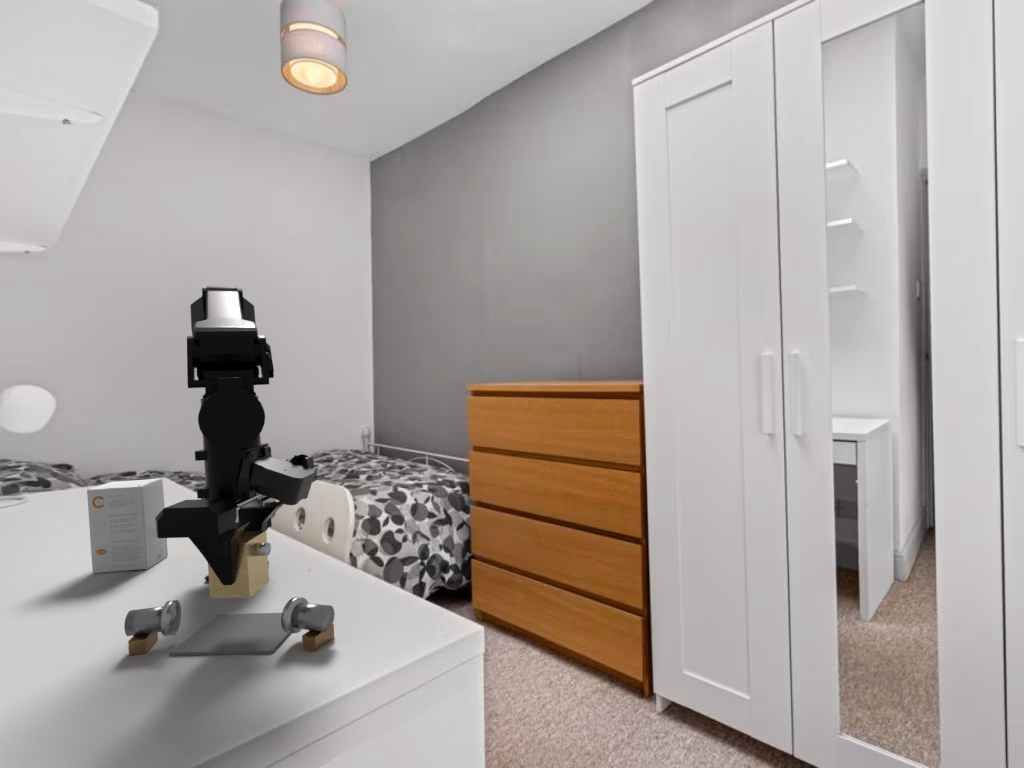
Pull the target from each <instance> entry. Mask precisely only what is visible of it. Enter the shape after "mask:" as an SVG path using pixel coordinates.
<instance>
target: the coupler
mask: <svg viewBox="0 0 1024 768" xmlns="http://www.w3.org/2000/svg"><path fill="white" fill-rule="evenodd" d="M267 540H268V539H267V530H265V531H242V532H241V533H240V535H239V536H238V538H237V556H236V572H235V580H234V583H233V584H232V585H223V584H222V583H221V581H220V580H219V579H218V577H217V576H216V574H215V573H214V571H213V570H212V568H211V567H210V565H209V564H208V563H207V570H208V575H209V581H208V584H209V585H208V587H209V589H208V590H209V599H237V598H239V599H240V598H241V599H242V598H251V597H252V596H253V595H255V594H256V593H257V592H258V591H259V590H261V589H262V588H263V587H264V586H266V585H267V584H268V583H269V582H270V574H269V573H270V572H269V565H268V561H269V555H270V553H271V550H272V545H271V543H270V542H268V541H267Z"/></svg>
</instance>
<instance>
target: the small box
mask: <svg viewBox="0 0 1024 768" xmlns="http://www.w3.org/2000/svg"><path fill="white" fill-rule="evenodd" d="M163 481H164V480H163V478H153V479H137V480H134V479H133V480H122V481H121V480H120V481H119V480H118V481H111V482H110V481H109V482H106V483H104V484H100V485H98V486H94V487H91V488H87V490H86V495H87V496H86V497H87V508H88V522H89V523H88V524H89V535H90V536H89V537H90V538H89V539H90V540H89V541H90V552H91V553H90V555H91V566H92V567H91V568H92V573H93V574H101V573H113V572H127V571H137V570H139V571H140V570H148V569H150V568H152V567H153V566H155V565H156V564H157V563H159V562H160V561H162V560H164V559H165V558H167V557H168V555H169V552H168V551H169V549H168V538H157V537H156V524H155V517H156V516H157V515H158V514H159V513H160V512H161V511H162V510H163V509H164V508H166V507H165V496H164V495H165V493H164V485H163V484H164V483H163Z"/></svg>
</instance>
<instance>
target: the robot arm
mask: <svg viewBox="0 0 1024 768" xmlns="http://www.w3.org/2000/svg"><path fill="white" fill-rule="evenodd" d="M201 293H202V294H201V296H200V297H198V299H196V300H195V301H194V302H192V303H191V304H190V324H191V325H190V329H191V334H192V336H191V335H190V336H189V335H188V336H186V363H187V364H186V367H187V371H186V373H187V374H186V375H187V376H186V377H187V378H186V379H187V389H203V388H204V390H205V393H204V394H203V395H202V398H200V408H199V412H198V415H197V416H198V417H197V423H198V427H199V430H200V433H201V434H202V446H203V449H199V450H195V451H194V460H195V461H196V462H197V461H198V462H201V461H203V463H204V465H203V466H204V478H205V479H204V481H205V485H204V486H202V487H200V488H197V489H196V496H197V497H196V498H197V499H185V500H181V501H179V502H176V503H173V504H171V505H169V506H166V507H165V508H164V509H163V510H162V511H161V512H160V513H159V514H158V515H157V516H156V517H155V524H156V537H157V538H167V539H175V538H176V539H178V538H179V539H180V538H182V539H183V538H186V539H187V538H188V539H189V540H190V541H191V543H192V544H193V545H194V546H195V548H196V549H197V550H198V551H199V552H200V554H201V556H203V558H204V559H205V561H206V562H207V565H208V564H209V565H210V567H211V568H212V570H213V571H214V573H215V574H216V576H217V577H218V579H219V580H220V581H221V583H222V584H223V585H232V584H233V583H234V580H235V572H236V556H237V538H238V536H239V535H240V533H241V532H242V531H265V530H266V531H268V529H269V528H271V527H272V516H273V515H274V514H276V512H277V511H278V510H279V509H280V508H282V507H283V506H284V505H286V506H295V505H297V504H299V503H300V501H302V500H307V499H308V497H309V493H310V490H311V487H312V484H313V483H314V482H317V480H318V475H317V474H316V473H317V468H316V467H315V464H314V457H313V456H312V455H310V454H307V453H303V452H300V453H297V454H295V455H294V456H293V457H292V458H291V459H290V460H289V461H288V459H287V458H283V459H279V458H276V457H272V447H271V446H270V445H269V443H263V442H262V440H261V433H262V431H263V428H264V426H265V424H266V423H265V421H266V414H265V413H266V412H265V409H264V406H263V404H262V403H261V401H260V400H259V395H257V392H256V391H255V386H262V385H270V379H273V378H275V377H274V376H275V375H274V371H275V370H274V369H275V368H274V362H273V355H272V350H271V345H270V344H268V343H267V337H265V335H259V332H258V328H257V324H256V313H255V311H256V310H255V305H254V304H253V303H251V302H250V301H249V300H247V299H246V298H245V297H244V293H243V288H239V287H238V286H221V285H220V286H218V285H217V286H215V285H207V286H206V287H201ZM259 367H260V368H259ZM195 369H196V370H195ZM195 371H196V378H197V379H195ZM260 373H261V376H260ZM274 500H276V501H274ZM269 565H270V561H269V560H268V566H269ZM204 580H205V581H206V582H209V574H207V575H205V576H204Z"/></svg>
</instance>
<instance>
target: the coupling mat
mask: <svg viewBox="0 0 1024 768" xmlns="http://www.w3.org/2000/svg"><path fill="white" fill-rule="evenodd" d="M281 616H282V612H260V613H259V612H257V613H256V612H255V613H253V612H252V613H251V612H250V613H219V614H217V615H216V616H214V617H213V618H212V619H210V620H209V621H208V622H206V623H205V624H204V625H203V626H202V627H200V628H198V630H197V631H195V632H194V633H193V634H191V635H190V636H189V637H187V638H185V640H183V642H180V644H179V645H178V646H175V648H173V649H172V650H171V651H169V656H199V655H200V656H203V655H204V656H205V655H206V656H207V655H210V656H211V655H247V654H248V655H252V654H253V655H255V654H273V653H274V652H275V651H276V650H277V649H278V648H279V647H280V646H281V645H282V643H283V642H284V641H285V640H286V639H287V638H288V636H290V635H291V633H287V632H285V631H284V630H283V628H282V625H281Z"/></svg>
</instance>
